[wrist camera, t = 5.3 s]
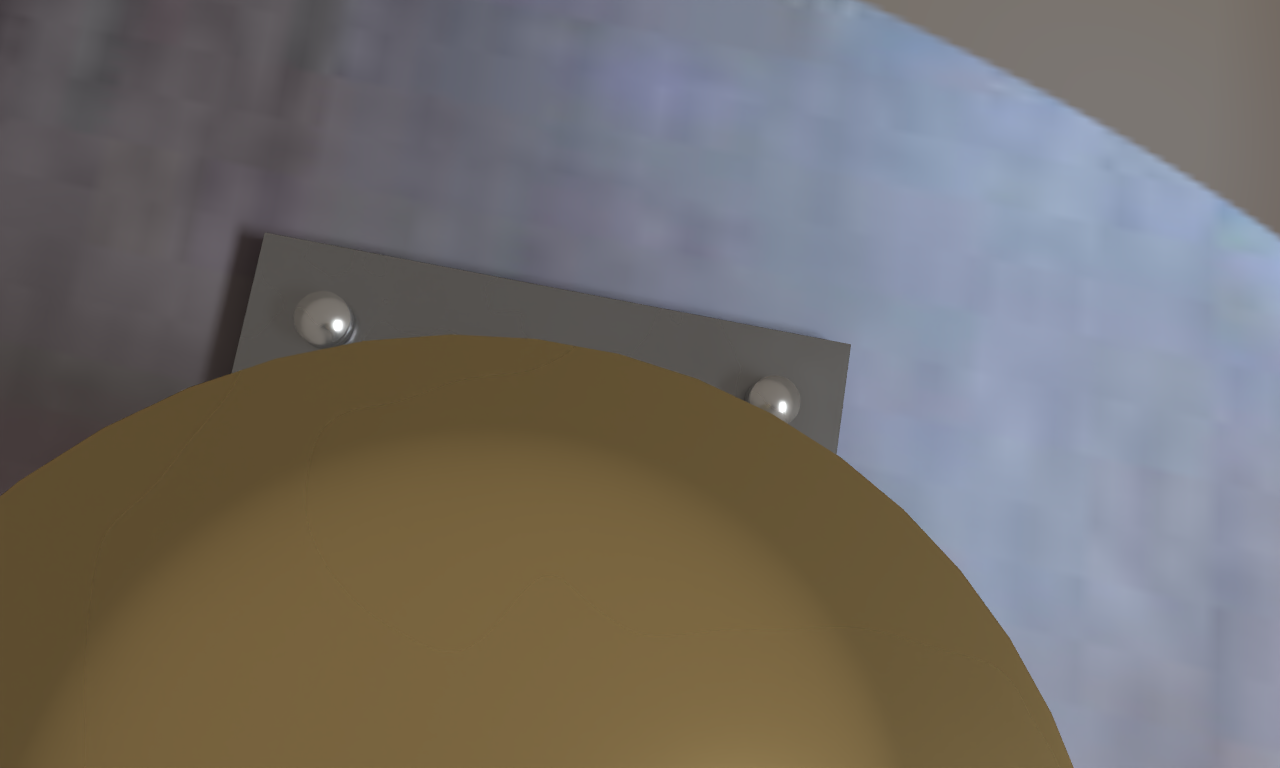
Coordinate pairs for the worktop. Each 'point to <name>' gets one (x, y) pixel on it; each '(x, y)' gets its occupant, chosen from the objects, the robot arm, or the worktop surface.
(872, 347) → the worktop surface
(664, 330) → the floor flange
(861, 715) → the brass cylinder
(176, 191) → the worktop surface
